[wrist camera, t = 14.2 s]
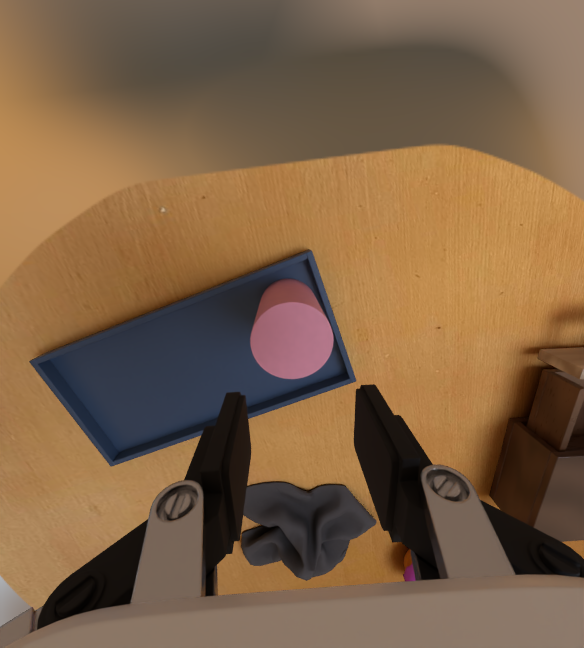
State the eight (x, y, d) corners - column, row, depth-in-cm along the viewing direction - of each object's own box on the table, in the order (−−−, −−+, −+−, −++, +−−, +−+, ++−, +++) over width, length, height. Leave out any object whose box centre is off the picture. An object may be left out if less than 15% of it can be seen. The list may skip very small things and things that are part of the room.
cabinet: (509, 418, 36) (558, 457, 29) (610, 412, 36) (679, 450, 30) (489, 495, 40) (527, 544, 34) (579, 489, 40) (633, 536, 34)
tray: (309, 249, 28) (311, 250, 26) (351, 372, 33) (356, 381, 31) (45, 352, 30) (28, 361, 28) (120, 453, 35) (110, 466, 33)
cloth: (389, 495, 39) (408, 540, 33) (340, 576, 45) (349, 628, 39) (237, 459, 36) (229, 503, 30) (205, 552, 41) (193, 604, 36)
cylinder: (257, 279, 28) (246, 304, 19) (316, 277, 28) (334, 299, 19) (262, 334, 30) (253, 381, 20) (316, 331, 30) (333, 377, 21)
